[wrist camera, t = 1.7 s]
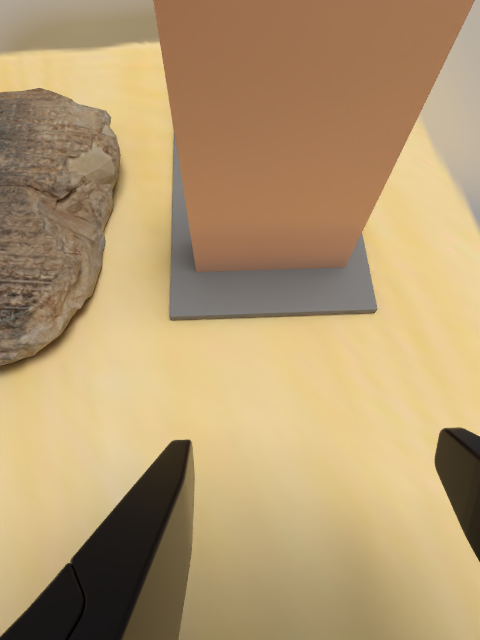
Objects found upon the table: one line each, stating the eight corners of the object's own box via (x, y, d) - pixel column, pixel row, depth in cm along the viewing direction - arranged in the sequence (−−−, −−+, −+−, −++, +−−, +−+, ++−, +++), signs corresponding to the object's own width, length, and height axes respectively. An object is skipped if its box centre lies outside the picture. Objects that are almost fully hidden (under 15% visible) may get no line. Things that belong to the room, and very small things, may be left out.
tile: (344, 267, 25) (485, -22, 11) (196, 272, 24) (150, -20, 11) (339, 234, 26) (461, -69, 12) (196, 238, 25) (153, -68, 12)
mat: (374, 312, 24) (377, 309, 24) (170, 320, 24) (169, 316, 23) (329, 82, 32) (330, 76, 32) (176, 85, 32) (175, 79, 31)
